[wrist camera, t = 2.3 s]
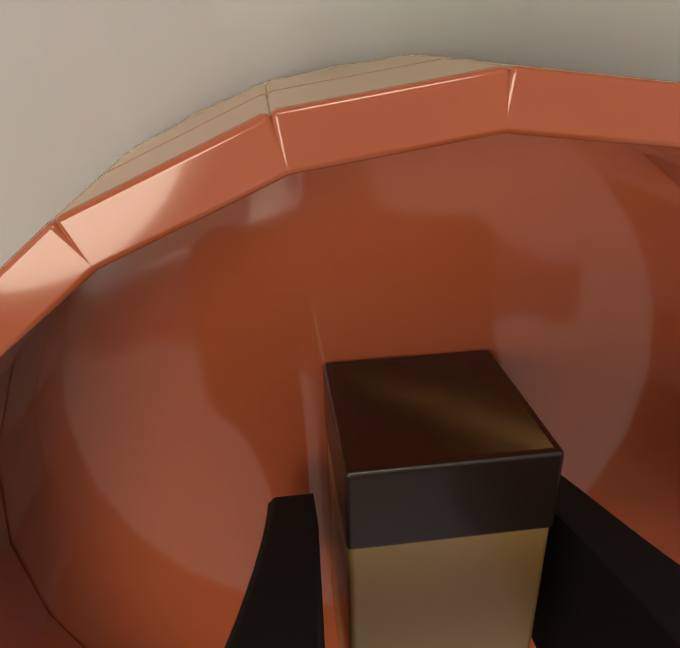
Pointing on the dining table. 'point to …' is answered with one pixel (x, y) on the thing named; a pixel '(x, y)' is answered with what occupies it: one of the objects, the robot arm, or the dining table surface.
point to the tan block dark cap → (436, 502)
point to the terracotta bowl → (325, 322)
